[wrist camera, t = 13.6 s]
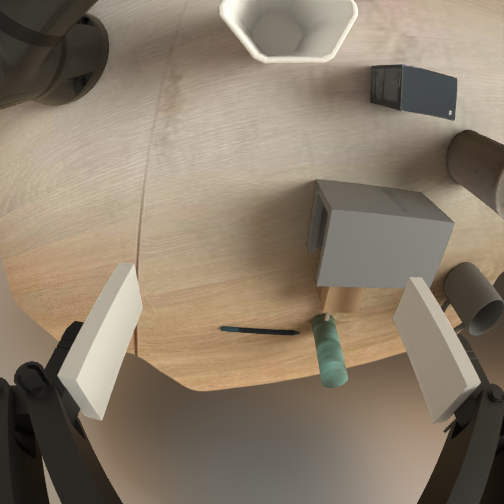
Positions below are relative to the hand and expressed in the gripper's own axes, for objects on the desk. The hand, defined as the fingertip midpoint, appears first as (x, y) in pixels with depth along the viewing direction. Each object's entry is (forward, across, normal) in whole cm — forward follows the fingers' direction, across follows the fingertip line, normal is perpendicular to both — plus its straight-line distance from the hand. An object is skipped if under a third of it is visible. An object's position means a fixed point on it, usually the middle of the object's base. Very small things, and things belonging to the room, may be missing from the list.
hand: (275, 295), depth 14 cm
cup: (+32, +1, +16) cm, 36 cm away
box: (+32, +18, +11) cm, 38 cm away
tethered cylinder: (+32, +14, -26) cm, 43 cm away
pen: (+32, +2, -35) cm, 48 cm away
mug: (+32, +41, -23) cm, 57 cm away
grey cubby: (+32, +17, -10) cm, 37 cm away
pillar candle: (+32, +34, +3) cm, 47 cm away
